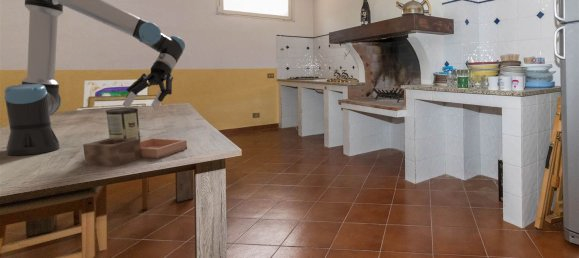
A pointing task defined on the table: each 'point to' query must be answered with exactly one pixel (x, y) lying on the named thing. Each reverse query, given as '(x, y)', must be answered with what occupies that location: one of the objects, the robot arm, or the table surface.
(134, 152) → the brown square planter
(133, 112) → the coffee can
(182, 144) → the dish
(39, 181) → the table surface
